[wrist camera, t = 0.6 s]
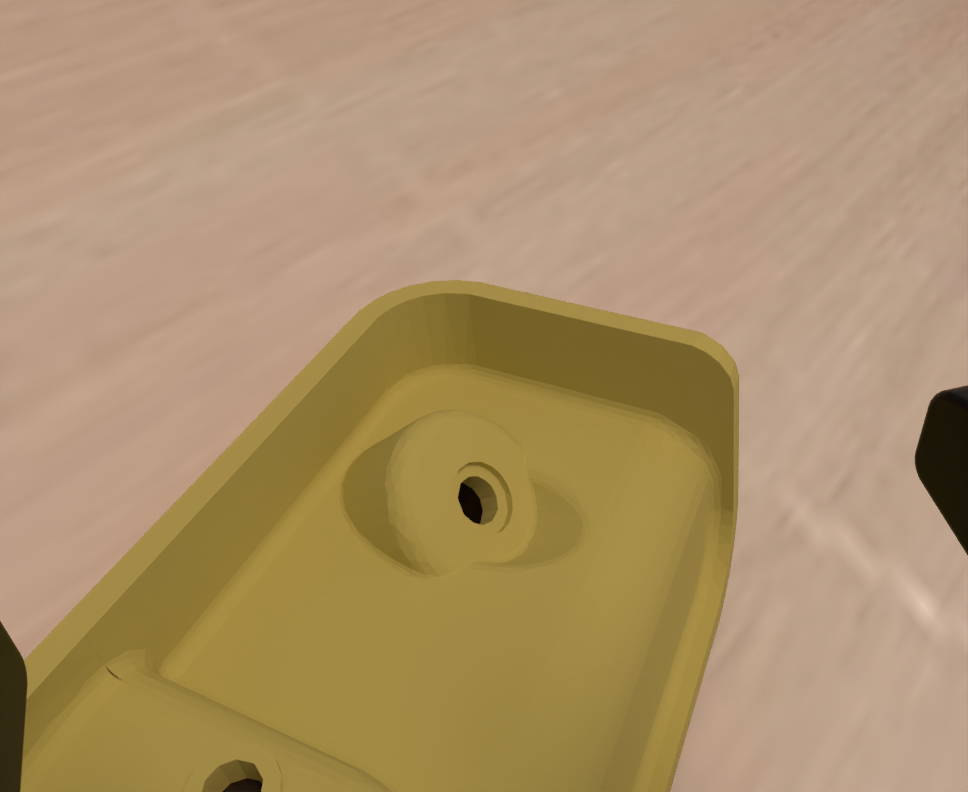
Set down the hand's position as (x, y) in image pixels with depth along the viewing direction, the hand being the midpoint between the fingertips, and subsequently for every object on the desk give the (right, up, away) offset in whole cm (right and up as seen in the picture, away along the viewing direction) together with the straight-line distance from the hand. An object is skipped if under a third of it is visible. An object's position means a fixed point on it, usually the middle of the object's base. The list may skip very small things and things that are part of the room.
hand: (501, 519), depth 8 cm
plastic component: (-3, -6, +10) cm, 12 cm away
